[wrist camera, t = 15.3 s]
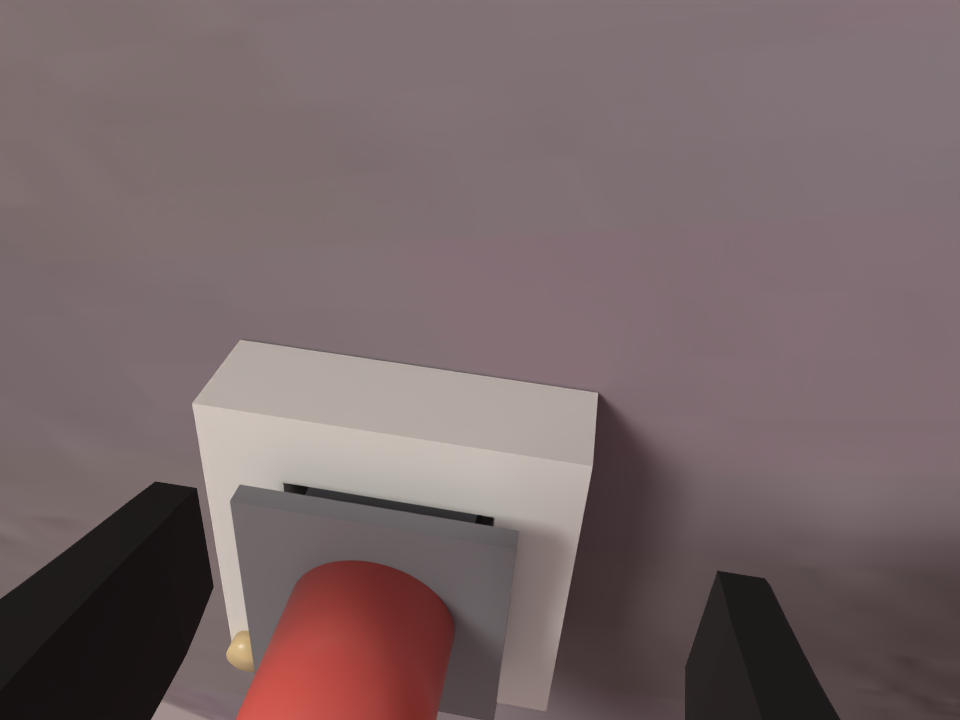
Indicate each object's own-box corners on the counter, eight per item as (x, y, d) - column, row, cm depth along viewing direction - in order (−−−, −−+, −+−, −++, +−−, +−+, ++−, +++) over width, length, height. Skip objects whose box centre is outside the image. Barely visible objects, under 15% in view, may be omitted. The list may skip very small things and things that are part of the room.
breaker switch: (533, 450, 22) (515, 549, 19) (510, 618, 26) (493, 721, 23) (282, 411, 23) (229, 500, 20) (297, 580, 27) (255, 676, 24)
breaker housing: (598, 392, 22) (591, 483, 19) (554, 631, 28) (543, 729, 25) (240, 339, 23) (181, 417, 20) (268, 580, 29) (226, 669, 26)
